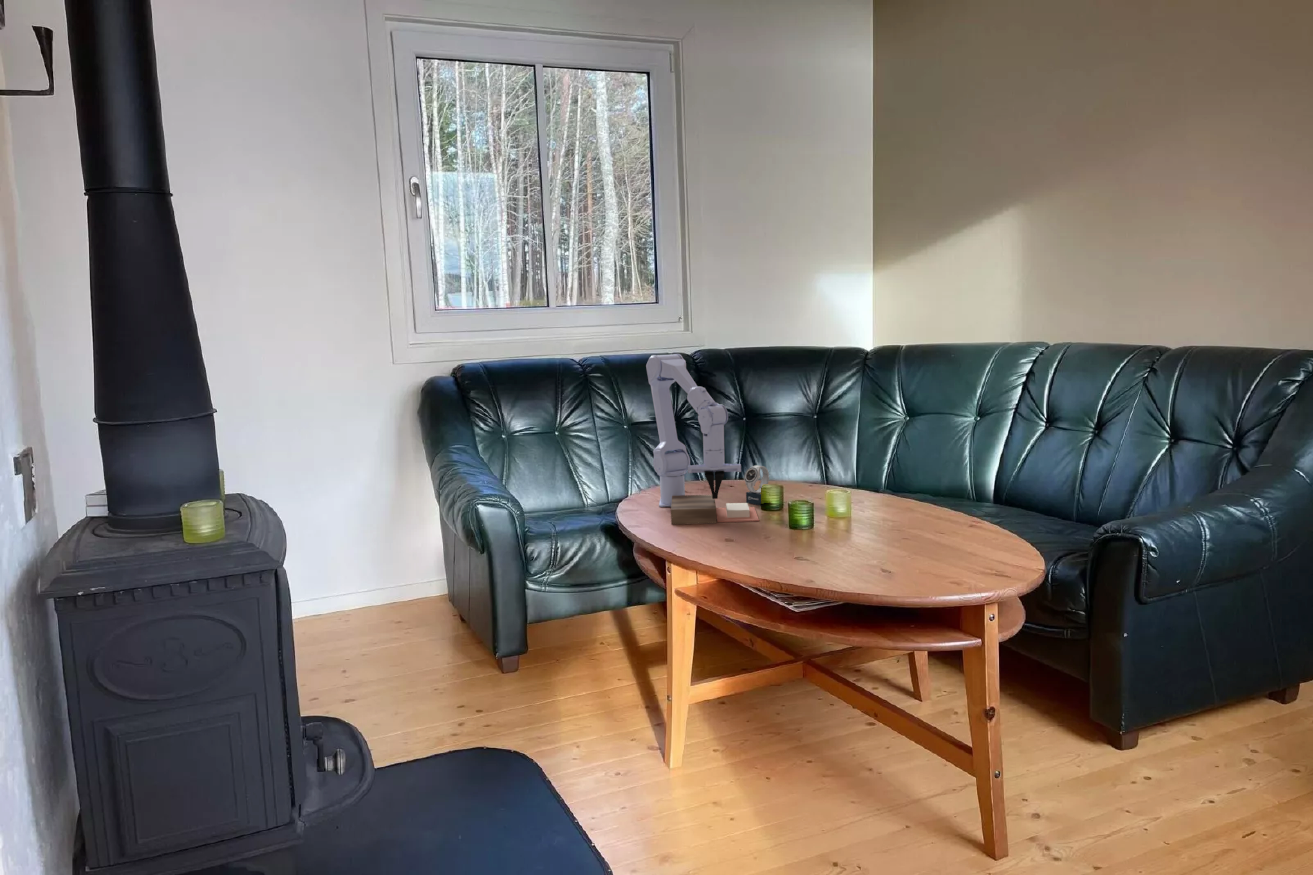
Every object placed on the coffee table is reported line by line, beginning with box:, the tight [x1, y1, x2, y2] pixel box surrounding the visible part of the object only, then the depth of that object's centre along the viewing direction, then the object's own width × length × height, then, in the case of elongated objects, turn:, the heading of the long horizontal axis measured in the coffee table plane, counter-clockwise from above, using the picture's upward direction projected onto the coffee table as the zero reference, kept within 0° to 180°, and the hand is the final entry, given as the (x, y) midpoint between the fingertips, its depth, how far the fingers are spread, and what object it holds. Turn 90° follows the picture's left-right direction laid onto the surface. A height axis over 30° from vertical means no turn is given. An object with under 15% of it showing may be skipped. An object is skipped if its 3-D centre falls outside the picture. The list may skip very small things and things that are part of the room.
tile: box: [725, 502, 750, 518], centre depth 232 cm, size 9×6×2 cm, turn 177°
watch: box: [743, 464, 770, 506], centre depth 246 cm, size 6×8×11 cm
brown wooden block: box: [670, 494, 717, 525], centre depth 233 cm, size 18×12×4 cm, turn 178°
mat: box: [716, 506, 760, 523], centre depth 232 cm, size 16×11×1 cm
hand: (714, 498), depth 232 cm, fingers closed
